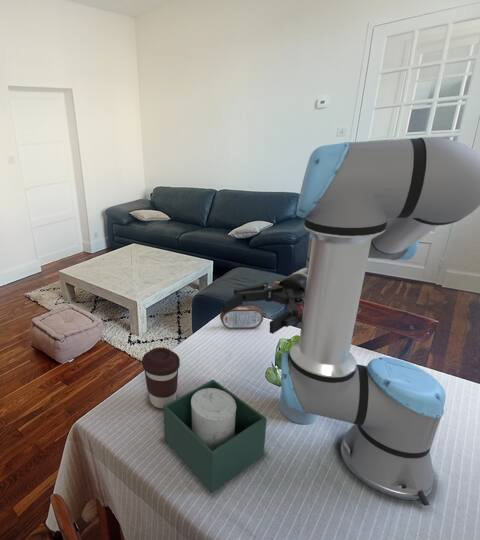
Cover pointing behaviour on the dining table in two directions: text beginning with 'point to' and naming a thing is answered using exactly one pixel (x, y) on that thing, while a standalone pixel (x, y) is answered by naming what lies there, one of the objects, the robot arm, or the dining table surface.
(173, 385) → the coffee cup
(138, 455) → the dining table surface
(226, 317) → the tin
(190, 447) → the bin
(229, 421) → the white mottled cylinder
